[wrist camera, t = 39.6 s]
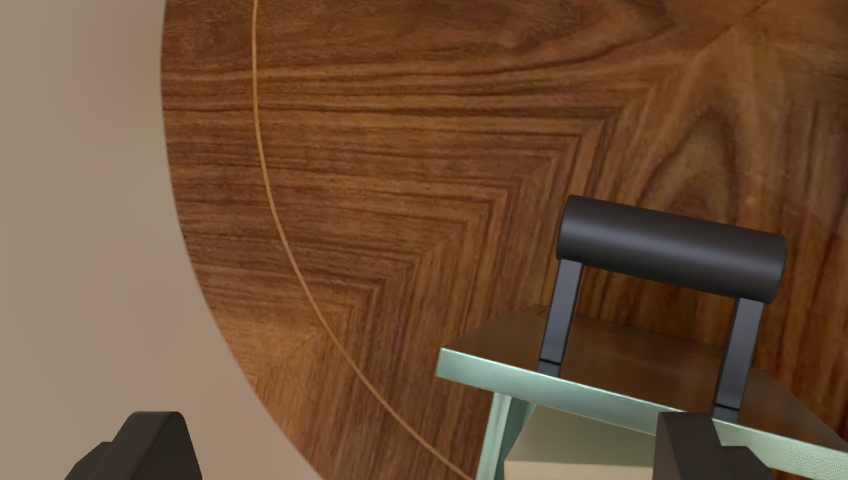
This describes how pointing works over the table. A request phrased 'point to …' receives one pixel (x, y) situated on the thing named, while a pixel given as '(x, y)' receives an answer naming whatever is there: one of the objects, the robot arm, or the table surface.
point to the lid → (645, 362)
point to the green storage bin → (515, 412)
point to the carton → (578, 449)
